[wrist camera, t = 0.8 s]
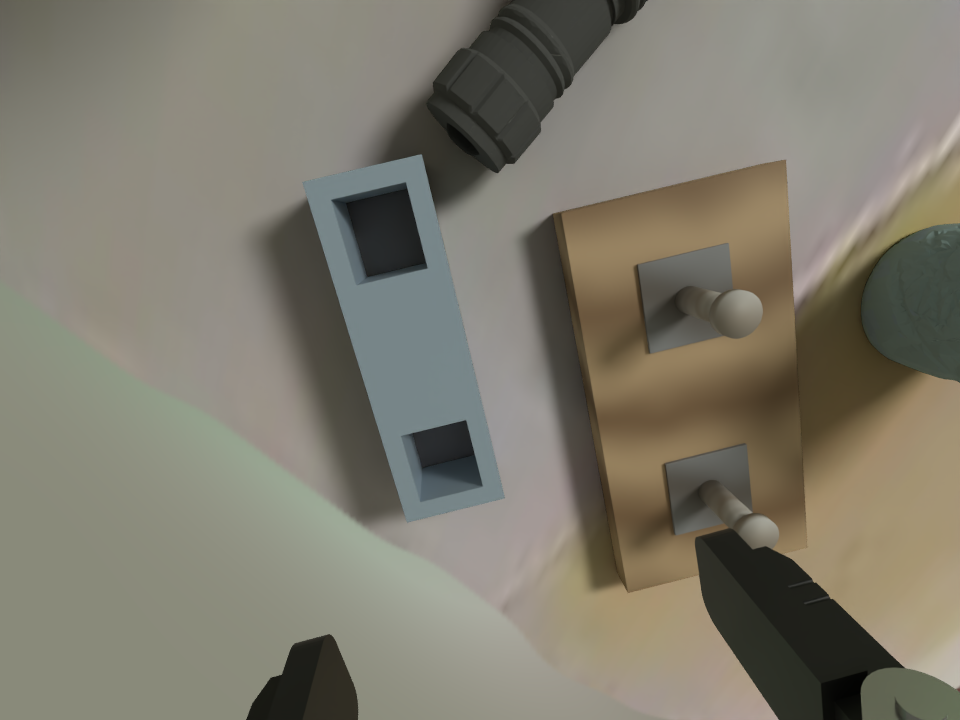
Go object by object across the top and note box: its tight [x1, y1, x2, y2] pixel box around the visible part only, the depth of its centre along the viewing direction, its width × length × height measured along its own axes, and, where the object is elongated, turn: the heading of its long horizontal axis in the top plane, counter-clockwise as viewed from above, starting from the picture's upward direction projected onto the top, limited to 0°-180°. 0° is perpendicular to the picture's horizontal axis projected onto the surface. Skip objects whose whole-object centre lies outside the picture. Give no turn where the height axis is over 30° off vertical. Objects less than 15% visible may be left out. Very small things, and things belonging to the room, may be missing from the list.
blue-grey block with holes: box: [303, 154, 505, 522], centre depth 27 cm, size 18×6×4 cm, turn 13°
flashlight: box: [426, 0, 647, 173], centre depth 23 cm, size 15×5×5 cm, turn 139°
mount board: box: [553, 160, 807, 593], centre depth 28 cm, size 24×12×7 cm, turn 13°
